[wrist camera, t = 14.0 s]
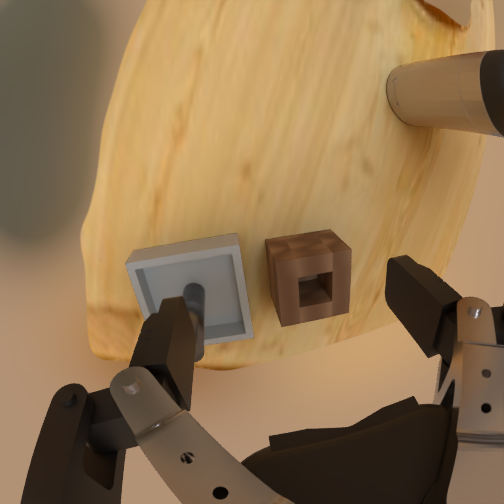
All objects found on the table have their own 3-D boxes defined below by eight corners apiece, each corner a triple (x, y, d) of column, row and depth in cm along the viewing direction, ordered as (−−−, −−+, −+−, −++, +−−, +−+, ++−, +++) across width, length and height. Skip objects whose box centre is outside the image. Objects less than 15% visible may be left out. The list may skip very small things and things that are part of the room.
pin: (202, 281, 38) (200, 339, 27) (207, 299, 40) (206, 360, 29) (180, 284, 38) (171, 343, 27) (186, 303, 39) (179, 364, 28)
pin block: (330, 229, 39) (351, 249, 32) (330, 286, 42) (348, 312, 36) (265, 239, 38) (275, 262, 32) (271, 297, 42) (281, 327, 35)
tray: (236, 233, 37) (239, 244, 34) (250, 320, 43) (254, 337, 39) (133, 250, 37) (125, 263, 33) (160, 333, 42) (157, 350, 39)
